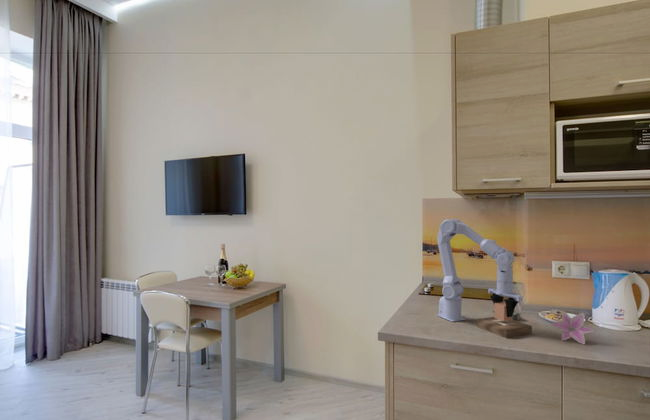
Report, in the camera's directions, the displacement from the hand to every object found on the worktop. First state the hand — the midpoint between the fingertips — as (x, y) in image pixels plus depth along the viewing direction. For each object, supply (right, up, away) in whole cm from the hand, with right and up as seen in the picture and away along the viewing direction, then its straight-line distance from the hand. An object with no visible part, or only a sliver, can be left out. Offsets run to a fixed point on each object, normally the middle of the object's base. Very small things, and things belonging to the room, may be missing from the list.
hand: (504, 314), depth 143 cm
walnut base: (0, -6, 0) cm, 6 cm away
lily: (+21, -7, -10) cm, 24 cm away
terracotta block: (0, -2, 0) cm, 2 cm away
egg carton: (+9, -7, +16) cm, 20 cm away
